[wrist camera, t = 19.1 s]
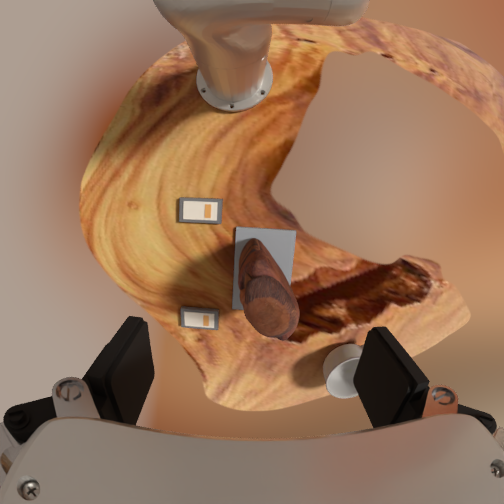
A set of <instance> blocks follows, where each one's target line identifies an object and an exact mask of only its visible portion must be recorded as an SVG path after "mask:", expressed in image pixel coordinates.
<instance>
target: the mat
mask: <svg viewBox="0 0 504 504" xmlns="http://www.w3.org/2000/svg"><path fill="white" fill-rule="evenodd" d="M252 238H256V239H259V240H260V241H261V242H262V243H263V244H264V246H265V247H266V248H267V250H268V251H269V252H270V254H271V255H272V257H273V258H274V260H275V261H276V263H277V264H278V265H279V267H280V268H281V270H282V271H283V273H284V275H285V277H286V279H287V281H288V282H289V284H290V283H291V274H292V266H293V257H294V248H295V239H296V230H283V229H268V228H252V227H236V240H235V259H234V280H233V302H232V309H239V310H244V309H243V306H242V304H241V302H240V297H239V294H240V289H239V286H238V274H239V258H240V254H241V251H242V249H243V248H244V246H245V245H246V243H247V242H248V241H249V240H250V239H252Z"/></svg>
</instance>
